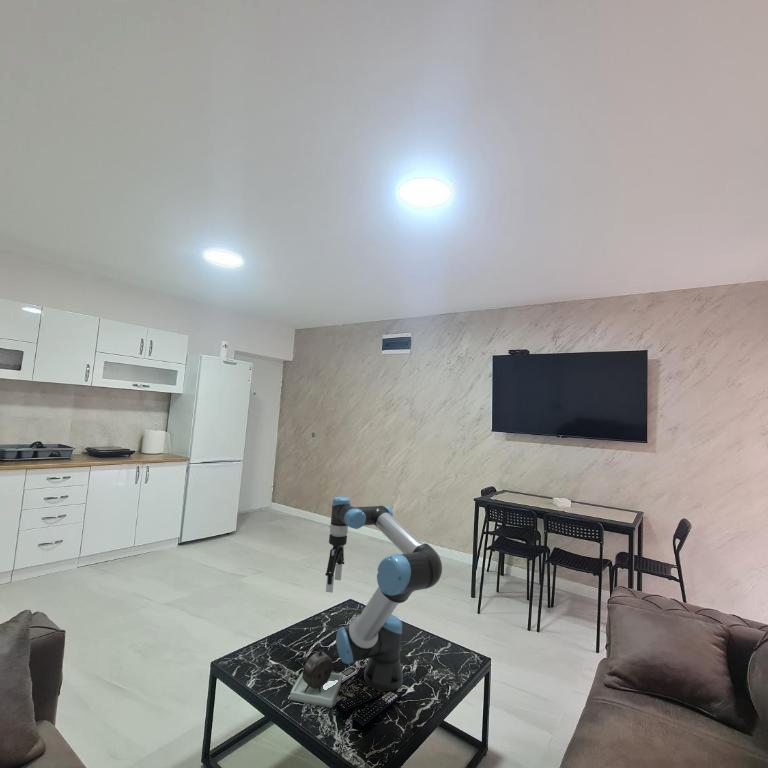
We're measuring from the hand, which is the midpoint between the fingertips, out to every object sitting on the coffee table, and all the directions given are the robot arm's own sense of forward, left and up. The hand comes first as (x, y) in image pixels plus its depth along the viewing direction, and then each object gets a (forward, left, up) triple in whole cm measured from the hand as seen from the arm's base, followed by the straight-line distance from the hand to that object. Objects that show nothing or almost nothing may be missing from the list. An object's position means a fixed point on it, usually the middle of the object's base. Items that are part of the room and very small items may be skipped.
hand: (333, 585), depth 176 cm
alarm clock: (-3, +22, -28) cm, 36 cm away
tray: (-2, +22, -29) cm, 36 cm away
